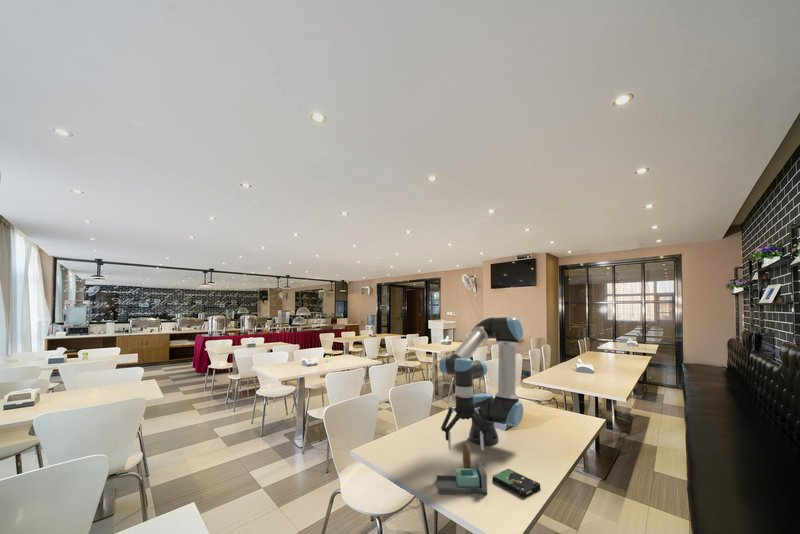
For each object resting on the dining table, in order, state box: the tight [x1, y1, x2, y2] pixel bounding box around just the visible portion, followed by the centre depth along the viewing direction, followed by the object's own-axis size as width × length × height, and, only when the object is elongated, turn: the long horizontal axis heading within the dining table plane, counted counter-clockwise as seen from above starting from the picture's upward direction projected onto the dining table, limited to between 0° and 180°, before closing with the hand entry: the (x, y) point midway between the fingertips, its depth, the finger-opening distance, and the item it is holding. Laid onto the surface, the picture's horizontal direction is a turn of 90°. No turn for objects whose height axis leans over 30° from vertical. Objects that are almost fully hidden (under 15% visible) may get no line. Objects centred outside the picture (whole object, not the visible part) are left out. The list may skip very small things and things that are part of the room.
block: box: [455, 467, 480, 487], centre depth 123 cm, size 8×7×4 cm
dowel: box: [461, 442, 472, 469], centre depth 132 cm, size 3×3×12 cm
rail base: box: [436, 461, 488, 495], centre depth 123 cm, size 18×10×7 cm, turn 88°
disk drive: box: [492, 468, 542, 499], centre depth 124 cm, size 10×3×15 cm
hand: (465, 449), depth 133 cm, fingers open, 13 cm apart
